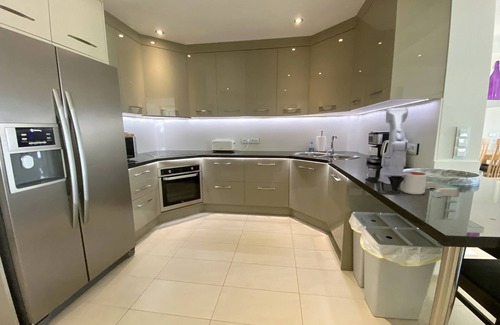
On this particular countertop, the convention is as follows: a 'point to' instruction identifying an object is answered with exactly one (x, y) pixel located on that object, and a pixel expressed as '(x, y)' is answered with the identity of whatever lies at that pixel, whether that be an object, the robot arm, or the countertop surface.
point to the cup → (414, 183)
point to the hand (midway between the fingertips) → (394, 190)
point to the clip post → (437, 193)
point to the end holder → (443, 188)
